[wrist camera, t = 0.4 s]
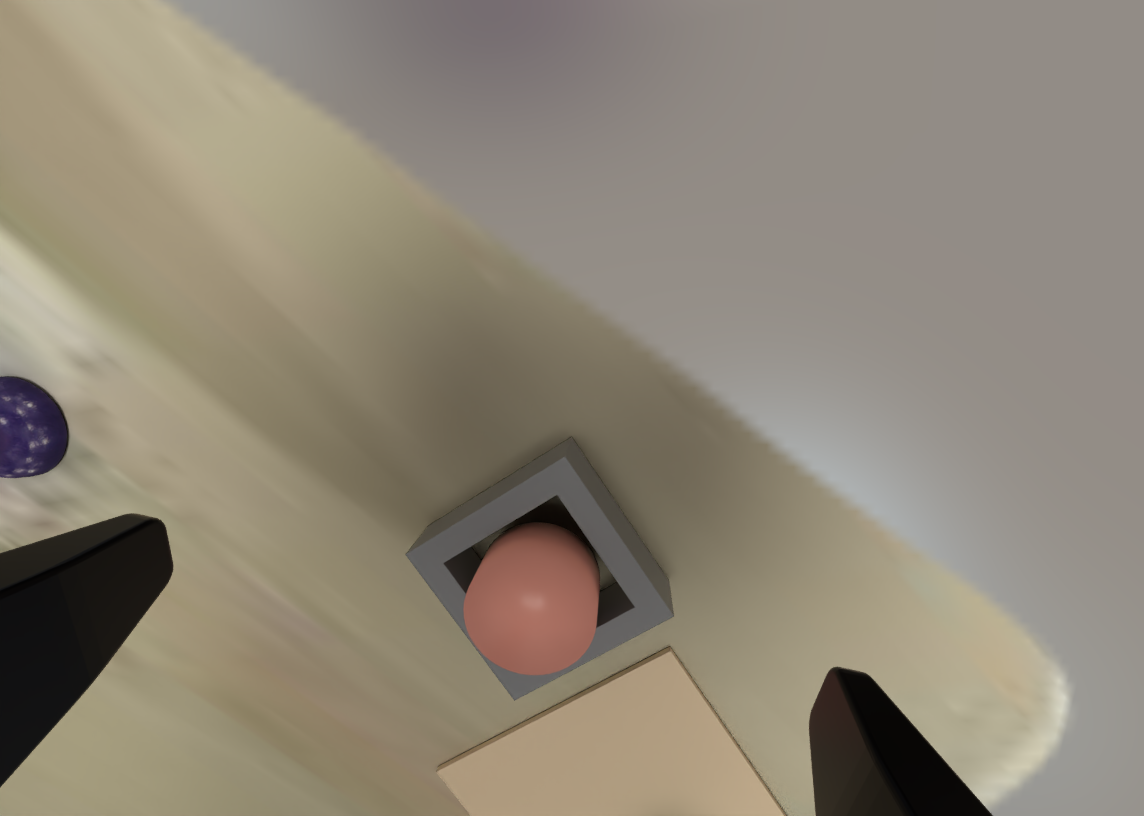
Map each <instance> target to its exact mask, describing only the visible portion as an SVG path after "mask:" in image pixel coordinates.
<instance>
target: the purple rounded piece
mask: <svg viewBox="0 0 1144 816" xmlns="http://www.w3.org/2000/svg"><path fill="white" fill-rule="evenodd" d="M66 445H67V430H66V425H65V421H64V419H63V417H62V414H61V412H60V410H59V408H58V407H57V406H56V404H55V403H54V402H53V401H52V400H51V399H50V398H49V397H48V395H47V394H46V393H44V392H43V391H42V390H41V389H39V388H37V387H36V386H34V385H33V384H31V383H29V382H27V381H24V380H22V379H19V378H13V377H0V477H4V478H21V477H31V476H36V475H40V474H44V473H46V472H48V471H49V470H51V469H52V468H54V467H55V466H56V465H57V464H58V463H59V461H60V460H61V458H62V457H63V455H64V452H65V449H66Z"/></svg>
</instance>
